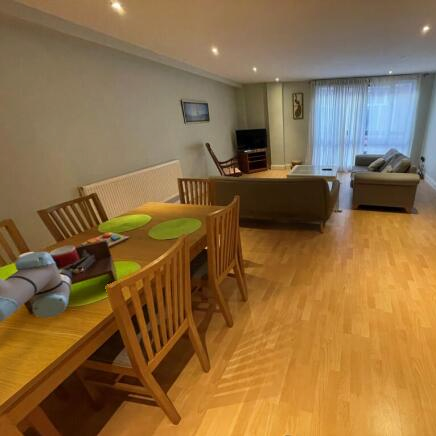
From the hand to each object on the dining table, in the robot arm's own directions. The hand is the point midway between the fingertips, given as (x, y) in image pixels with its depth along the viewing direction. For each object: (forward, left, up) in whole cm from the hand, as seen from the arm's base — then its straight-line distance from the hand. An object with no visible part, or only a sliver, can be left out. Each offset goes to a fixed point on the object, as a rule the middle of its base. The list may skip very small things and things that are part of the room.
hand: (64, 257), depth 99 cm
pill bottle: (-16, +21, -17) cm, 31 cm away
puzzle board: (+10, +48, -17) cm, 52 cm away
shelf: (0, 0, -16) cm, 17 cm away
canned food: (0, 0, -8) cm, 8 cm away
